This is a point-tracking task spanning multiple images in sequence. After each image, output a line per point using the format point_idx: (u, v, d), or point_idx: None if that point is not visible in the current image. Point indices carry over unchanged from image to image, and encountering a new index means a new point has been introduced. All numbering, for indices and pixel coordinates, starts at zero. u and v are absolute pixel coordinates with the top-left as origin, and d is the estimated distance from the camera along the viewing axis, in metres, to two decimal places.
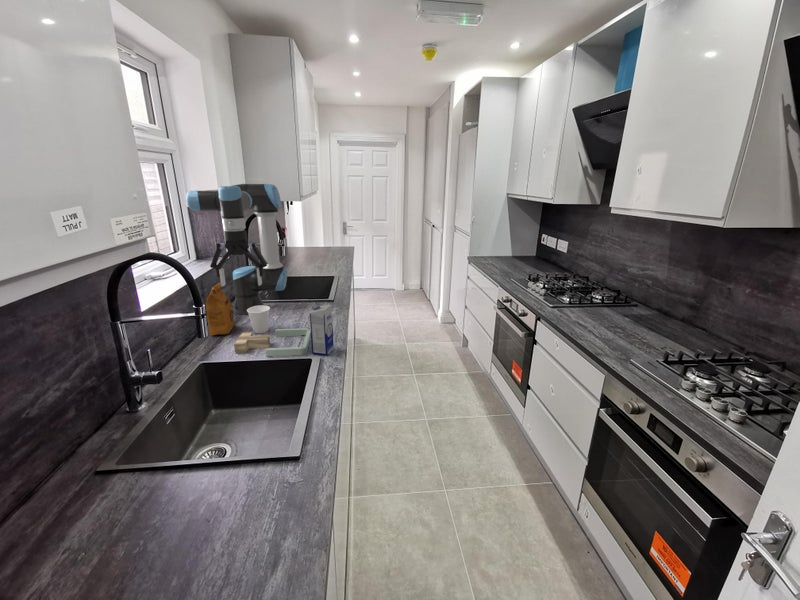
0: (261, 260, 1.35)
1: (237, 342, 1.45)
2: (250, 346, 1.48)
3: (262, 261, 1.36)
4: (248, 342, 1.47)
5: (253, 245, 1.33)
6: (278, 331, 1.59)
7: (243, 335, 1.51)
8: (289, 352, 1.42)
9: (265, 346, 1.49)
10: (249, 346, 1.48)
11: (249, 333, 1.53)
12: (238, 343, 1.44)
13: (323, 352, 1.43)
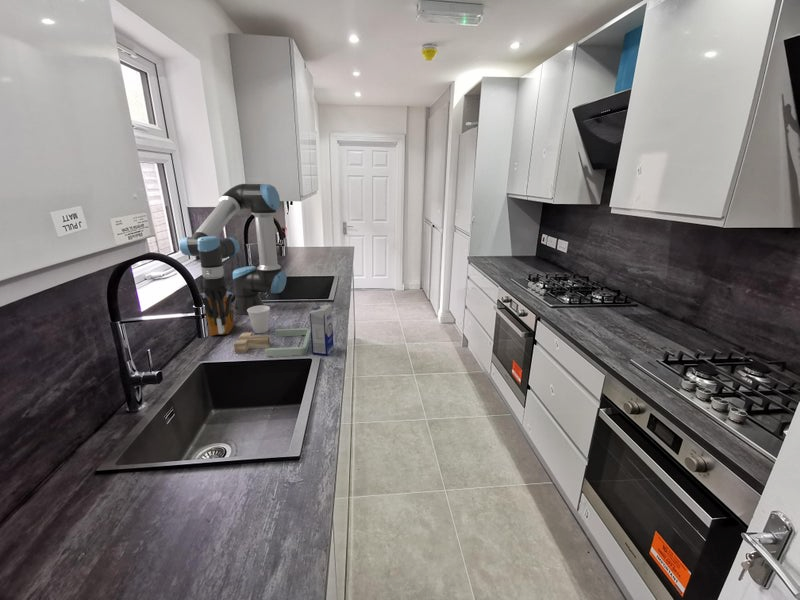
0: (226, 310, 1.43)
1: (237, 342, 1.45)
2: (250, 346, 1.48)
3: (227, 311, 1.43)
4: (248, 342, 1.47)
5: (230, 296, 1.41)
6: (278, 331, 1.59)
7: (243, 335, 1.51)
8: (289, 352, 1.42)
9: (265, 346, 1.49)
10: (249, 346, 1.48)
11: (249, 333, 1.53)
12: (238, 343, 1.44)
13: (323, 352, 1.43)
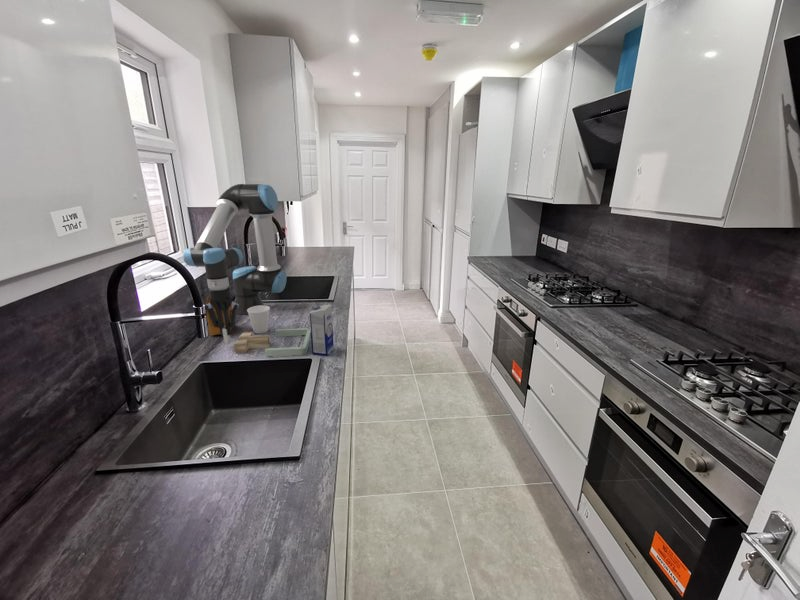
0: (232, 320, 1.44)
1: (237, 342, 1.45)
2: (250, 346, 1.48)
3: (232, 321, 1.45)
4: (248, 342, 1.47)
5: (235, 306, 1.43)
6: (278, 331, 1.59)
7: (243, 335, 1.51)
8: (289, 352, 1.42)
9: (265, 346, 1.49)
10: (249, 346, 1.48)
11: (249, 333, 1.53)
12: (238, 343, 1.44)
13: (323, 352, 1.43)
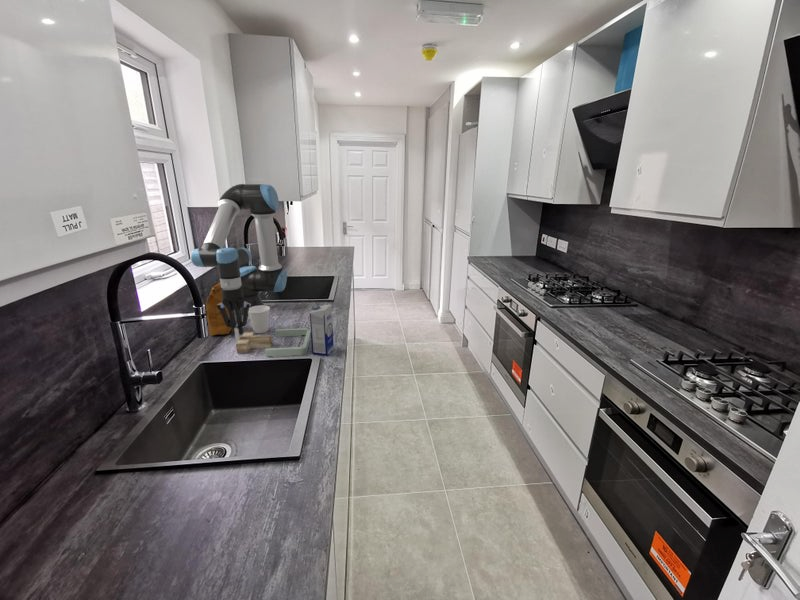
0: (244, 320, 1.45)
1: (239, 342, 1.45)
2: (252, 346, 1.48)
3: (244, 321, 1.45)
4: (250, 342, 1.47)
5: (247, 306, 1.43)
6: (278, 331, 1.59)
7: (245, 335, 1.51)
8: (289, 352, 1.42)
9: (267, 346, 1.49)
10: (251, 346, 1.48)
11: (251, 333, 1.53)
12: (240, 343, 1.44)
13: (323, 352, 1.43)
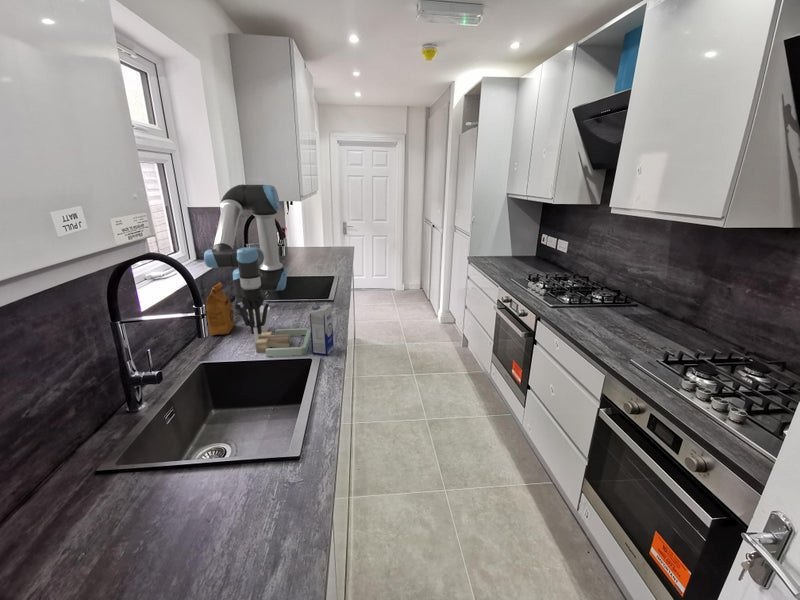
0: (263, 319, 1.46)
1: (258, 341, 1.46)
2: (270, 345, 1.49)
3: (263, 320, 1.46)
4: (269, 341, 1.48)
5: (266, 305, 1.44)
6: (278, 331, 1.59)
7: (263, 334, 1.52)
8: (289, 352, 1.42)
9: (285, 345, 1.50)
10: (269, 345, 1.49)
11: (269, 332, 1.54)
12: (259, 342, 1.45)
13: (323, 352, 1.43)
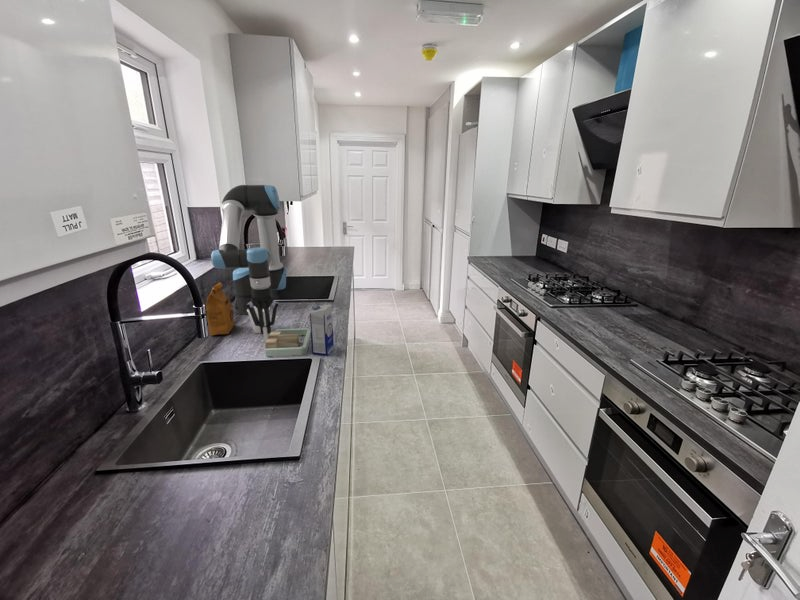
0: (272, 319, 1.46)
1: (268, 341, 1.46)
2: (280, 345, 1.50)
3: (273, 320, 1.47)
4: (278, 341, 1.49)
5: (276, 305, 1.45)
6: None
7: (272, 334, 1.52)
8: (289, 352, 1.42)
9: (294, 345, 1.50)
10: (279, 345, 1.50)
11: (278, 332, 1.55)
12: (269, 342, 1.45)
13: (323, 352, 1.43)
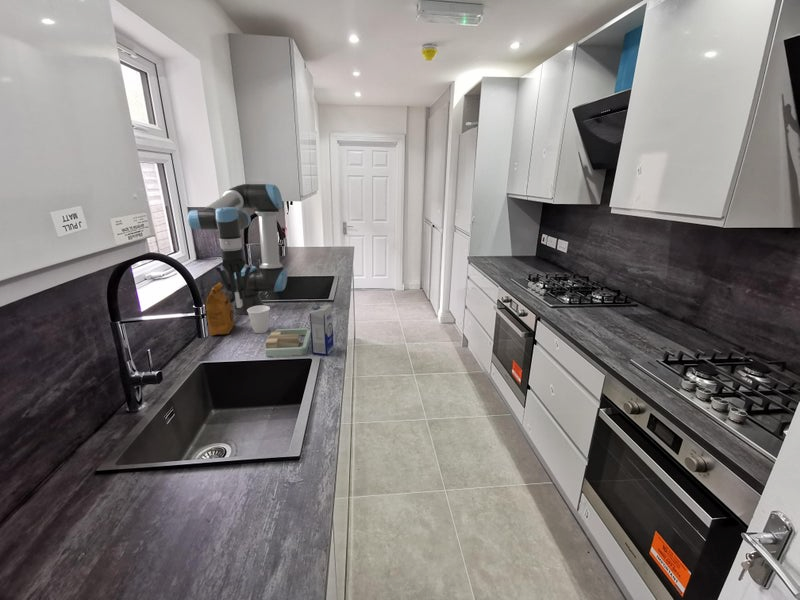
0: (245, 283, 1.41)
1: (268, 341, 1.46)
2: (280, 345, 1.50)
3: (245, 284, 1.41)
4: (278, 341, 1.49)
5: (248, 269, 1.39)
6: None
7: (273, 334, 1.53)
8: (289, 352, 1.42)
9: (295, 345, 1.50)
10: (279, 345, 1.50)
11: (278, 332, 1.55)
12: (269, 342, 1.45)
13: (323, 352, 1.43)
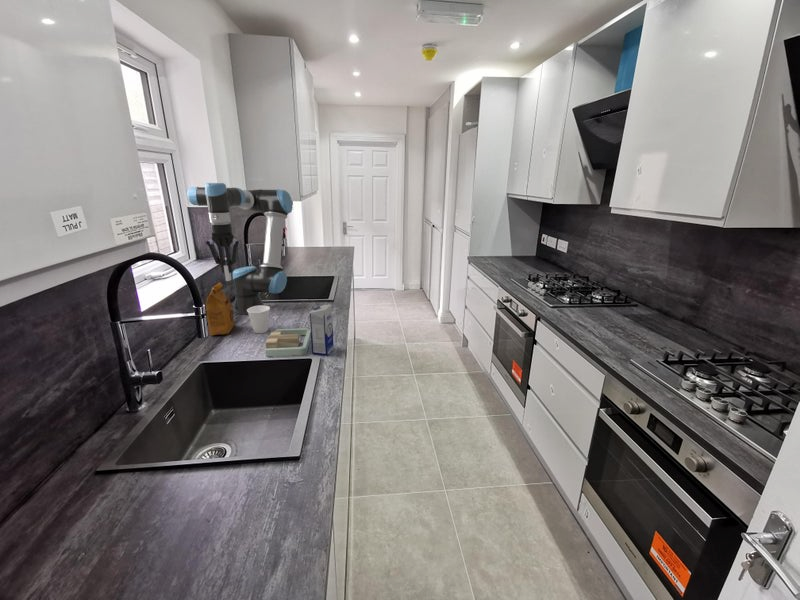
0: (233, 257, 1.46)
1: (268, 341, 1.46)
2: (280, 345, 1.50)
3: (233, 258, 1.47)
4: (278, 341, 1.49)
5: (236, 243, 1.45)
6: None
7: (273, 334, 1.53)
8: (289, 352, 1.42)
9: (295, 345, 1.50)
10: (279, 345, 1.50)
11: (278, 332, 1.55)
12: (269, 342, 1.45)
13: (323, 352, 1.43)
